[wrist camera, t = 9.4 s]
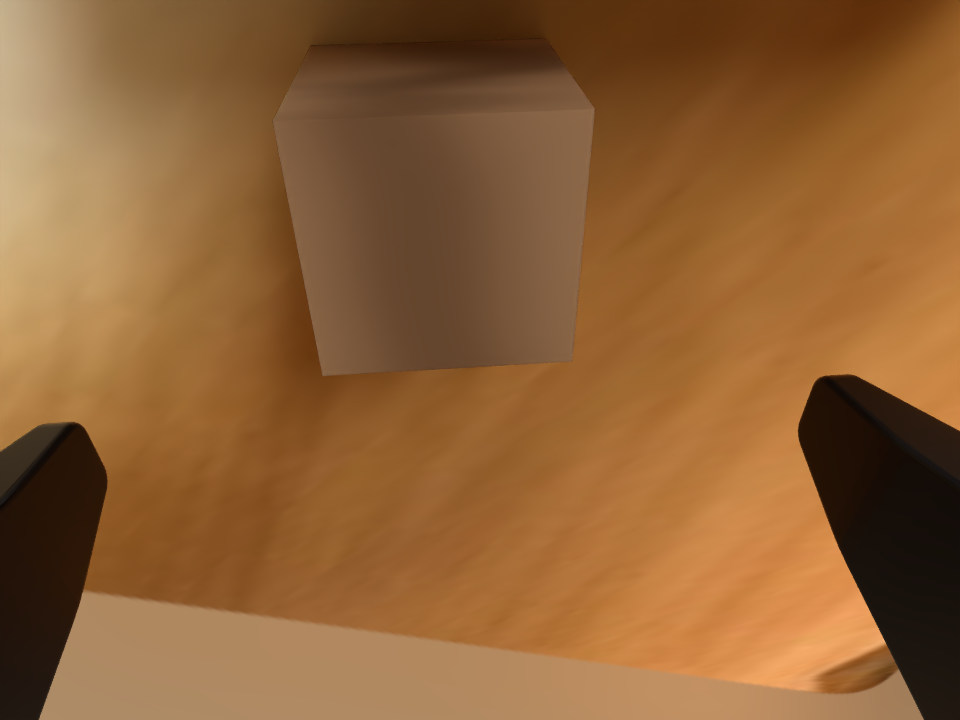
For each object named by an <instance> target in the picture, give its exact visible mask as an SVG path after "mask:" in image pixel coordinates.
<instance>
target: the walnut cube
mask: <svg viewBox="0 0 960 720" xmlns="http://www.w3.org/2000/svg"><path fill="white" fill-rule="evenodd" d="M594 114H595V109H594V107H593V106H592V104H591V103H590V101H589V100H588V98H587V97H586V96H585V94H584V93H583V91H582V90H581V88H580V87H579V85H578V84H577V83H576V81H575V80H574V78H573V77H572V75H571V74H570V73H569V71H568V70H567V68H566V67H565V65H564V64H563V62H562V61H561V60H560V58H559V57H558V55H557V54H556V52H555V51H554V50H553V48H552V47H551V45H550V44H549V42H548V41H547V39H546V38H543V39H511V40H478V41H446V42H414V43H382V44H349V45H317V46H310V48H309V50H308V52H307V54H306V56H305V58H304V60H303V62H302V64H301V66H300V68H299V70H298V72H297V74H296V76H295V78H294V80H293V82H292V84H291V86H290V88H289V90H288V91H287V93H286V95H285V97H284V99H283V101H282V103H281V105H280V107H279V109H278V111H277V113H276V115H275V117H274V119H273V126H274V131H275V137H276V142H277V147H278V152H279V157H280V162H281V167H282V172H283V177H284V182H285V187H286V193H287V198H288V203H289V208H290V213H291V218H292V223H293V228H294V233H295V238H296V244H297V249H298V254H299V259H300V264H301V269H302V274H303V279H304V284H305V289H306V294H307V300H308V305H309V310H310V315H311V320H312V325H313V330H314V335H315V340H316V345H317V350H318V356H319V361H320V366H321V371H322V376H331V375H348V374H365V373H382V372H400V371H417V370H434V369H451V368H468V367H486V366H503V365H520V364H537V363H554V362H572V358H573V347H574V336H575V325H576V314H577V303H578V292H579V280H580V269H581V258H582V247H583V236H584V225H585V214H586V203H587V191H588V180H589V169H590V158H591V147H592V136H593V125H594Z"/></svg>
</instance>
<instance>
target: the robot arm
mask: <svg viewBox="0 0 960 720" xmlns="http://www.w3.org/2000/svg"><path fill="white" fill-rule="evenodd" d="M798 437H799V442H800V445H801V448H802V450H803V453H804V456H805V459H806V461H807V464H808V467H809V470H810V472H811V475H812V478H813V480H814V483H815V486H816V489H817V491H818V494H819V497H820V499H821V502H822V505H823V508H824V510H825V513H826V516H827V519H828V521H829V524H830V527H831V529H832V532H833V534H834V537H835V539H836V542H837V544H838V547H839V549H840V551H841V553H842V555H843V557H844V560H845V562H846V564H847V566H848V568H849V570H850V572H851V574H852V576H853V578H854V580H855V582H856V584H857V586H858V588H859V590H860V592H861V594H862V596H863V598H864V600H865V602H866V604H867V606H868V608H869V610H870V612H871V614H872V616H873V618H874V620H875V622H876V624H877V626H878V628H879V630H880V632H881V634H882V636H883V638H884V640H885V642H886V644H887V646H888V648H889V650H890V652H891V654H892V656H893V658H894V660H895V662H896V664H897V666H898V668H899V670H900V672H901V674H902V676H903V678H904V680H905V682H906V684H907V686H908V688H909V691H910V692H911V695H912V696H913V699H914V700H915V703H916V705H917V707H918V709H919V711H920V713H921V715H922V717H923V719H924V720H960V431H959V430H957V429H955V428H953V427H951V426H949V425H947V424H945V423H944V422H942V421H940V420H938V419H936V418H934V417H932V416H930V415H929V414H927V413H925V412H923V411H921V410H919V409H917V408H915V407H914V406H912V405H910V404H908V403H906V402H904V401H902V400H900V399H899V398H897V397H895V396H893V395H891V394H889V393H887V392H885V391H884V390H882V389H880V388H878V387H876V386H874V385H872V384H870V383H869V382H867V381H865V380H863V379H861V378H859V377H857V376H855V375H848V374H846V375H830V376H823V377H820V378H819V379H817V380H816V382H815V383H814V385H813V387H812V390H811V392H810V395H809V398H808V400H807V403H806V406H805V408H804V411H803V414H802V417H801V419H800V422H799V427H798ZM106 490H107V474H106V470H105V467H104V465H103V463H102V461H101V459H100V457H99V455H98V453H97V451H96V449H95V447H94V445H93V443H92V441H91V439H90V437H89V435H88V433H87V431H86V430H85V428H84V427H83V426H82V425H80V424H79V423H75V422H62V423H47V424H42V425H39V426H37V427H36V428H34V429H33V430H31V431H30V432H28V433H27V434H25V435H24V436H22V437H21V438H19V439H18V440H17V441H15V442H14V443H12V444H11V445H9V446H8V447H6V448H5V449H3V450H2V451H1V452H0V720H39V718H40V715H41V712H42V709H43V706H44V703H45V701H46V698H47V695H48V692H49V689H50V686H51V684H52V681H53V678H54V675H55V673H56V670H57V667H58V664H59V661H60V659H61V656H62V653H63V650H64V647H65V645H66V642H67V639H68V636H69V633H70V630H71V628H72V625H73V622H74V619H75V616H76V613H77V610H78V607H79V604H80V600H81V596H82V592H83V589H84V585H85V581H86V576H87V572H88V568H89V564H90V559H91V555H92V551H93V546H94V542H95V538H96V533H97V529H98V525H99V520H100V516H101V512H102V508H103V503H104V499H105V495H106Z"/></svg>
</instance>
